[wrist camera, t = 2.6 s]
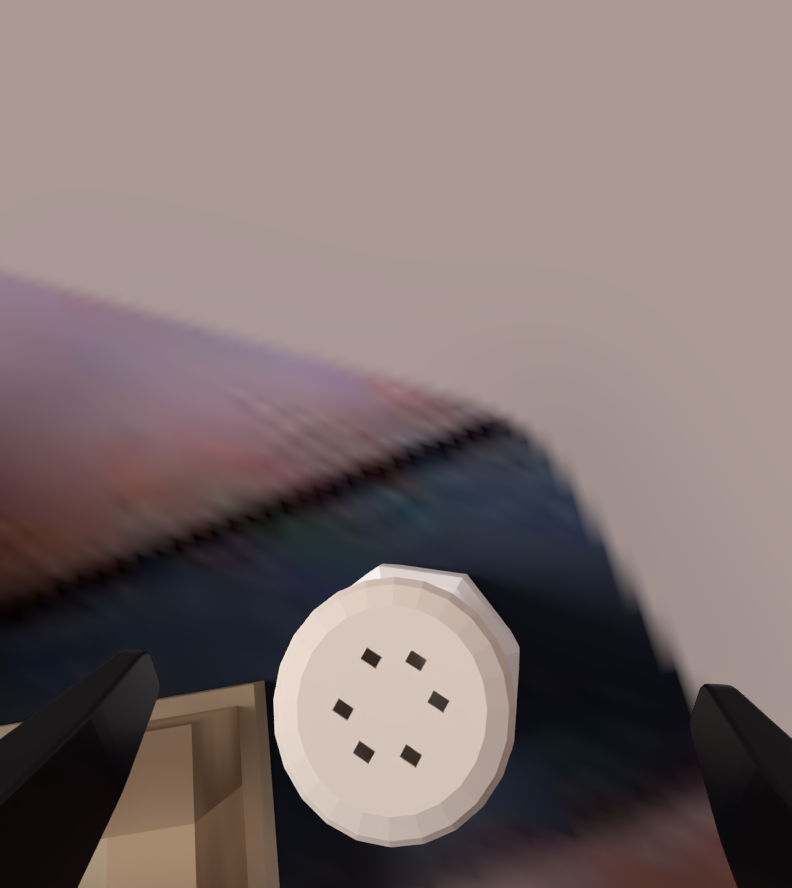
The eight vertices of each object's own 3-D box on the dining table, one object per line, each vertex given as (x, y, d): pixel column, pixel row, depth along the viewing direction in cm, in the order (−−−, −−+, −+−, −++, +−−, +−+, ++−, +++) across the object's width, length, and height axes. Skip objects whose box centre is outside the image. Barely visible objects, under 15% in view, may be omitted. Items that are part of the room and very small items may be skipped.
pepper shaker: (459, 794, 15) (495, 1179, 5) (302, 685, 16) (55, 794, 6) (545, 620, 16) (725, 616, 6) (393, 531, 18) (322, 399, 7)
